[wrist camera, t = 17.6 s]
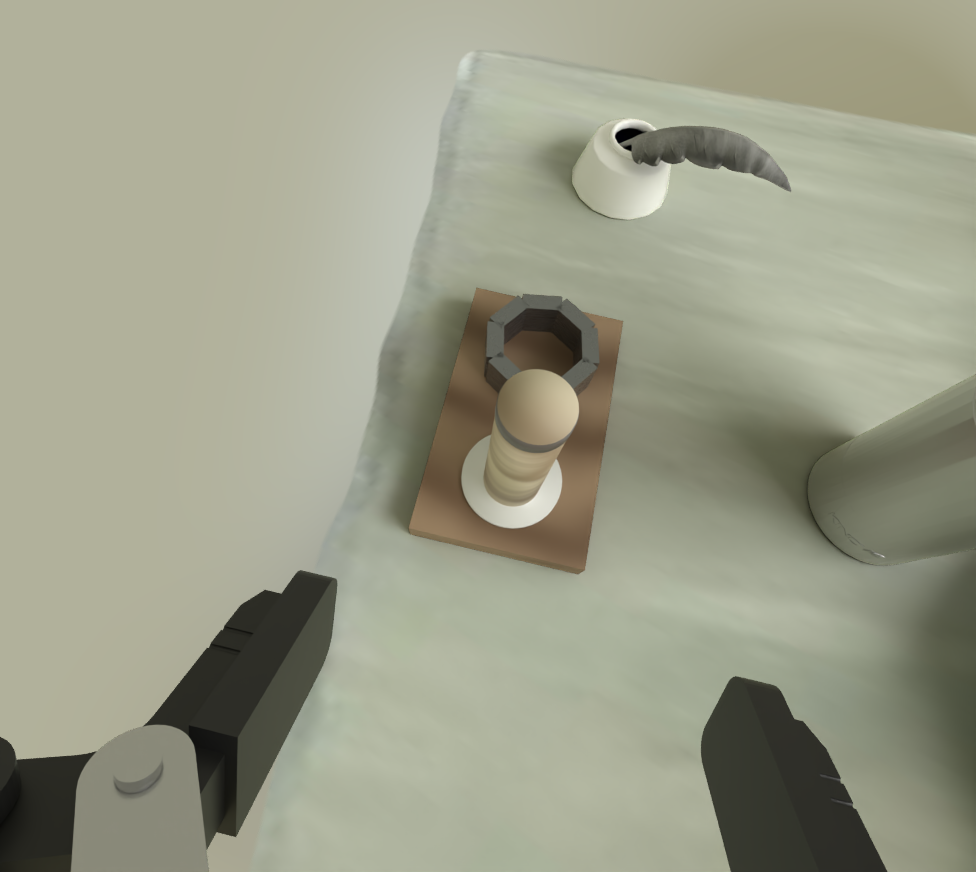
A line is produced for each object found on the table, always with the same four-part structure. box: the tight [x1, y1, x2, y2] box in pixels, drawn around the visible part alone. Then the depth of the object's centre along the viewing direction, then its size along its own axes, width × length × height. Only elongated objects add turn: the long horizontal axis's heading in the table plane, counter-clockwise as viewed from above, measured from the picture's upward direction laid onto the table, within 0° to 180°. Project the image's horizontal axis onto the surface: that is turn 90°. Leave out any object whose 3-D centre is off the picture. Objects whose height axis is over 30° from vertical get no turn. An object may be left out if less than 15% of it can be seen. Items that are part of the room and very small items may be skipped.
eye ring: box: [484, 294, 599, 396], centre depth 40 cm, size 8×8×3 cm
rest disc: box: [461, 435, 562, 529], centre depth 38 cm, size 7×7×1 cm
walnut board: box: [409, 288, 623, 574], centre depth 41 cm, size 20×12×2 cm, turn 167°
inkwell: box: [572, 118, 791, 220], centre depth 46 cm, size 9×18×10 cm, turn 52°
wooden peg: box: [483, 369, 579, 507], centre depth 32 cm, size 4×4×12 cm
